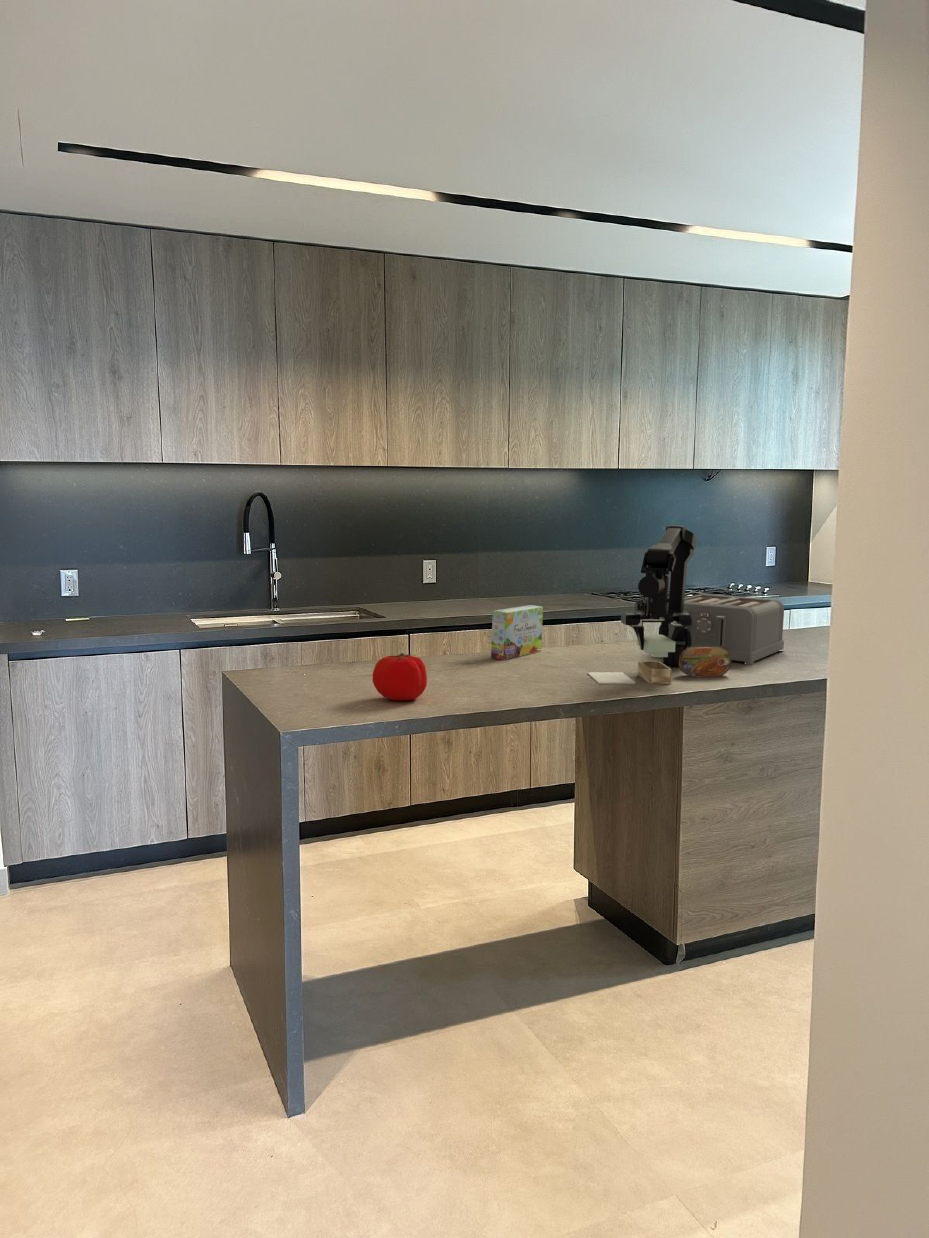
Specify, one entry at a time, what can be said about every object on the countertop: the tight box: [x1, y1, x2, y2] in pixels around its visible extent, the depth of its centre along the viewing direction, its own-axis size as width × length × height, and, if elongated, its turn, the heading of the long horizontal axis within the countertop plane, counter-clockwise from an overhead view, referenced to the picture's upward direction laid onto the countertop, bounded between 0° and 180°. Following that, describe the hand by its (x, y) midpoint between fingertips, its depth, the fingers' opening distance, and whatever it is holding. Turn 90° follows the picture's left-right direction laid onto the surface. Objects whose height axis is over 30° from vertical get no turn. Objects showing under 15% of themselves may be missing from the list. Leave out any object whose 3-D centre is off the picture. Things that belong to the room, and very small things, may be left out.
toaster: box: [660, 593, 785, 665], centre depth 300 cm, size 31×36×17 cm
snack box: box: [490, 604, 544, 661], centre depth 291 cm, size 21×6×15 cm, turn 143°
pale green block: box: [636, 634, 676, 658], centre depth 256 cm, size 7×12×4 cm, turn 5°
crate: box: [637, 660, 673, 685], centre depth 257 cm, size 6×12×4 cm, turn 5°
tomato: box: [371, 652, 428, 702], centre depth 227 cm, size 12×13×12 cm
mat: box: [587, 671, 636, 685], centre depth 257 cm, size 10×14×1 cm
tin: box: [678, 647, 732, 678], centre depth 263 cm, size 15×3×8 cm, turn 99°
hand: (655, 650), depth 256 cm, fingers closed on pale green block, 7 cm apart
